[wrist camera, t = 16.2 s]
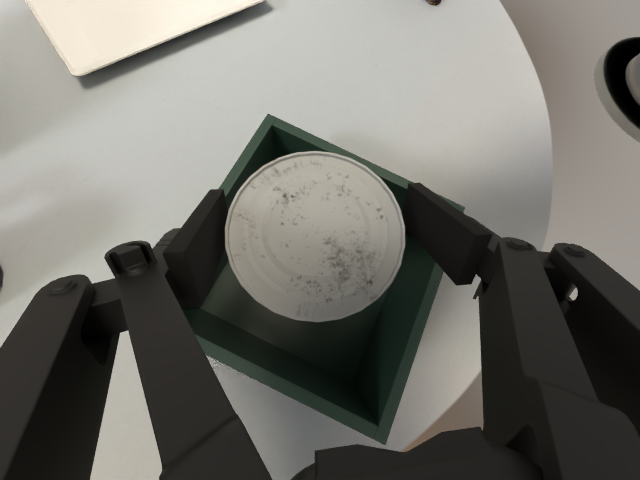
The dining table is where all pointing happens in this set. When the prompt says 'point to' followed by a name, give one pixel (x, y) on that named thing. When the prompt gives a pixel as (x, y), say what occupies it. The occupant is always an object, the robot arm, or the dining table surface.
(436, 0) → the flask
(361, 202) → the white speckled cylinder
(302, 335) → the bin
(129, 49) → the white flat square slab
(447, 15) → the dining table surface
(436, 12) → the dining table surface
